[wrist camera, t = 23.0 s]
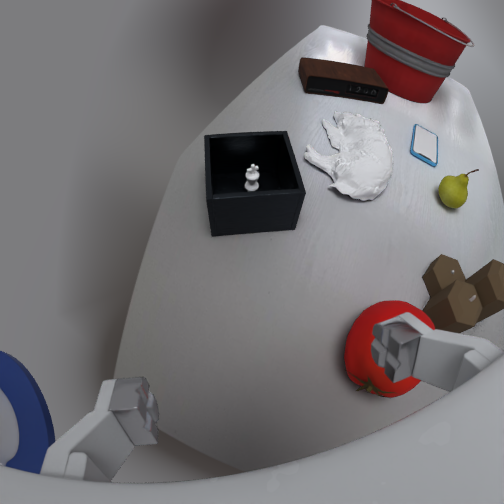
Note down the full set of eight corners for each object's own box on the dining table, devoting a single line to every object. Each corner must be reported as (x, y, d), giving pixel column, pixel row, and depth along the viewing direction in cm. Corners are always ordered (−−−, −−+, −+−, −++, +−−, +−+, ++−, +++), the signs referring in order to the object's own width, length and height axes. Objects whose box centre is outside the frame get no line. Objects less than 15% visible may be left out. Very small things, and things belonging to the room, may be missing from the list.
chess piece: (230, 201, 50) (229, 159, 41) (256, 191, 51) (259, 149, 42) (244, 223, 48) (245, 182, 39) (270, 212, 49) (276, 171, 40)
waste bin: (211, 236, 47) (206, 199, 39) (208, 174, 54) (204, 135, 45) (295, 229, 49) (306, 192, 40) (280, 169, 55) (286, 131, 46)
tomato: (378, 318, 45) (334, 385, 40) (369, 267, 37) (314, 350, 32) (445, 343, 36) (405, 421, 31) (456, 294, 28) (411, 395, 23)
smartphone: (437, 135, 64) (437, 165, 58) (436, 138, 66) (435, 168, 59) (414, 123, 66) (411, 150, 59) (413, 126, 67) (409, 154, 60)
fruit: (432, 204, 53) (459, 167, 43) (433, 184, 56) (458, 147, 46) (456, 219, 52) (486, 185, 41) (456, 198, 55) (483, 164, 44)
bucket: (411, 119, 68) (448, 33, 41) (332, 60, 82) (348, -15, 55) (458, 108, 77) (488, 46, 51) (391, 58, 91) (409, -1, 64)
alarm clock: (304, 93, 69) (307, 74, 64) (297, 73, 74) (300, 57, 69) (383, 104, 70) (389, 88, 65) (370, 84, 76) (375, 69, 70)
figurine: (273, 148, 58) (276, 124, 52) (343, 111, 66) (349, 91, 60) (358, 217, 50) (370, 194, 45) (414, 162, 59) (425, 143, 53)
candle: (474, 278, 45) (523, 240, 32) (475, 345, 39) (533, 319, 26) (422, 260, 47) (469, 213, 34) (418, 333, 41) (478, 301, 27)
